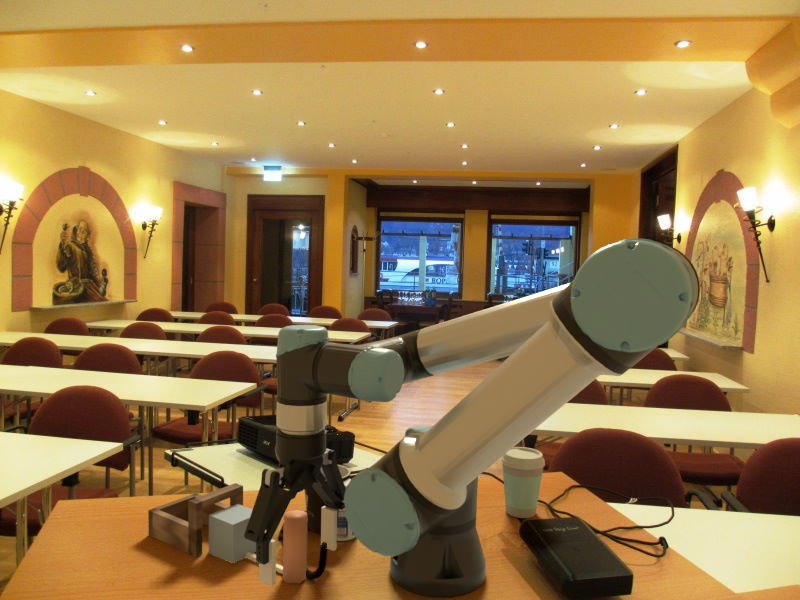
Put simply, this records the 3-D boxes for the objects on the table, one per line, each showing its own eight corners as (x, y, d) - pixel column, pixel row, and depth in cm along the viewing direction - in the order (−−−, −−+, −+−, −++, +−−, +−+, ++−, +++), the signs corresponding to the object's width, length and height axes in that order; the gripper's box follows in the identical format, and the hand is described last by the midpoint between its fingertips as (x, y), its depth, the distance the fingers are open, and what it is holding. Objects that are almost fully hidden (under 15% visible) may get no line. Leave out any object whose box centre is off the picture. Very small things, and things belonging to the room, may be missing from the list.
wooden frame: (242, 535, 112) (243, 485, 111) (196, 556, 104) (196, 503, 103) (195, 516, 119) (195, 469, 118) (148, 535, 111) (148, 485, 110)
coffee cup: (550, 519, 122) (553, 458, 121) (509, 523, 120) (512, 461, 119) (531, 502, 130) (533, 445, 129) (492, 505, 128) (494, 447, 127)
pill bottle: (347, 526, 117) (348, 474, 116) (363, 536, 112) (364, 483, 112) (321, 533, 113) (322, 480, 113) (337, 544, 109) (338, 489, 108)
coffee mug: (341, 538, 111) (343, 482, 110) (295, 532, 112) (295, 478, 112) (358, 511, 122) (359, 461, 121) (315, 507, 124) (316, 457, 123)
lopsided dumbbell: (316, 573, 99) (317, 511, 99) (289, 589, 94) (289, 524, 94) (237, 540, 110) (237, 483, 109) (208, 553, 105) (208, 494, 104)
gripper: (336, 408, 108) (333, 529, 109) (218, 442, 87) (218, 590, 89) (371, 415, 104) (368, 541, 105) (256, 453, 83) (255, 608, 85)
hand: (299, 564), depth 97 cm, fingers open, 13 cm apart
